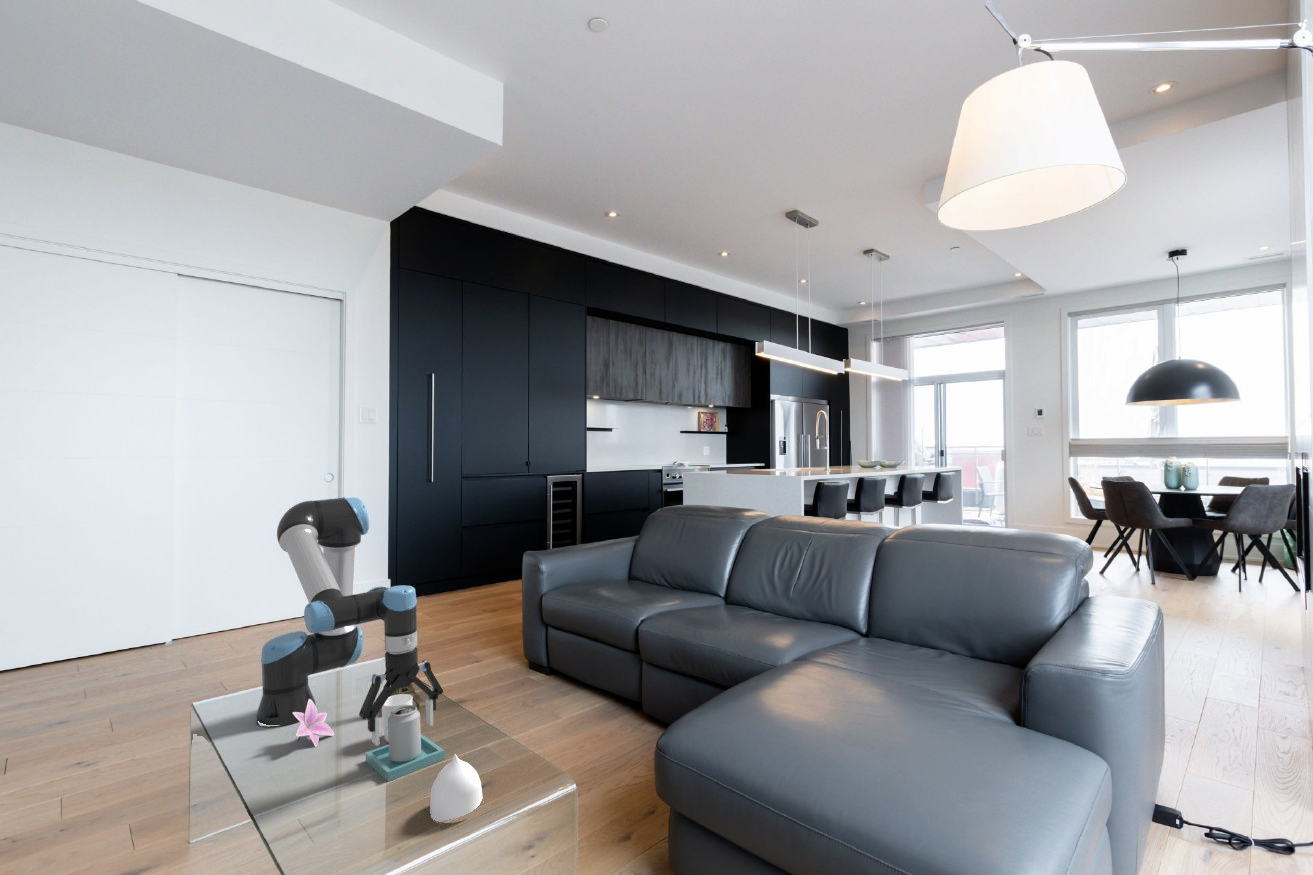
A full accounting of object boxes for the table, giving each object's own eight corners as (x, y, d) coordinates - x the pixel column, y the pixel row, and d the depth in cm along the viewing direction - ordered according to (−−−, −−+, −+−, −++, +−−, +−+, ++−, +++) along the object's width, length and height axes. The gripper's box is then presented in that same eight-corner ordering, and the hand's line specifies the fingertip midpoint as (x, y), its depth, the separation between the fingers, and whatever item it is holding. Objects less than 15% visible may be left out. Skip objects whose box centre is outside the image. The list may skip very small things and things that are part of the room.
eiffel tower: (412, 697, 196) (410, 617, 196) (428, 706, 189) (425, 623, 189) (378, 708, 189) (375, 625, 189) (393, 718, 181) (390, 632, 181)
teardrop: (481, 819, 131) (479, 762, 131) (426, 828, 129) (423, 769, 129) (484, 790, 142) (483, 737, 142) (433, 798, 140) (431, 744, 140)
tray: (365, 761, 157) (365, 752, 157) (420, 740, 167) (420, 733, 167) (388, 781, 147) (387, 772, 147) (444, 758, 157) (444, 750, 157)
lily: (288, 761, 161) (306, 727, 161) (270, 732, 167) (288, 699, 168) (331, 755, 171) (348, 723, 171) (312, 728, 177) (329, 697, 178)
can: (394, 751, 160) (393, 704, 160) (424, 749, 161) (423, 702, 161) (384, 766, 153) (383, 717, 153) (416, 764, 154) (414, 715, 154)
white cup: (402, 744, 165) (401, 706, 165) (376, 743, 167) (374, 705, 167) (419, 731, 173) (418, 694, 173) (394, 729, 174) (392, 693, 174)
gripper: (354, 667, 146) (357, 757, 146) (455, 640, 163) (457, 721, 163) (343, 659, 151) (345, 746, 151) (441, 633, 168) (443, 712, 169)
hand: (403, 733), depth 157 cm, fingers open, 13 cm apart
